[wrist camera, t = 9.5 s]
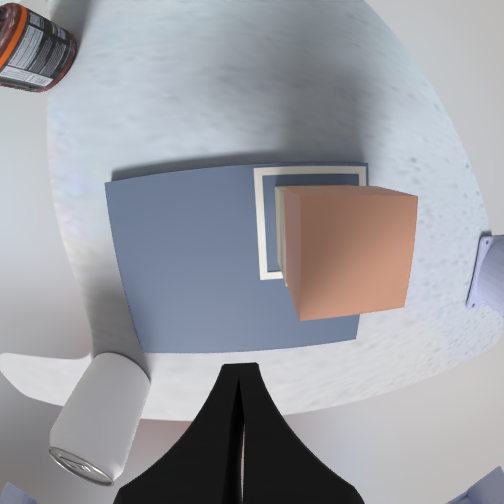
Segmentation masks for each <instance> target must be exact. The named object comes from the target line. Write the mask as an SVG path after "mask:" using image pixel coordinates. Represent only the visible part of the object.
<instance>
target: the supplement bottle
mask: <svg viewBox="0 0 504 504" xmlns="http://www.w3.org/2000/svg"><path fill="white" fill-rule="evenodd" d="M75 52H76V41H75V39H74V37H73V35H72V34H70V33H69V32H68V31H66V30H65V29H63V28H61V27H60V26H58V25H56V24H55V23H53V22H51V21H49V20H48V19H46V18H44V17H42V16H41V15H39V14H37V13H35V12H33V11H31V10H29V9H28V8H25V7H23V6H22V5H19V4H17V3H7V4H5V5H2V6H0V86H4V87H10V88H15V89H21V90H25V91H30V92H43V91H47V90H48V89H50V88H52V87H53V86H54V85H56V84H57V83H58V82H59V81H60V80H61V79H62V78H63V76H65V74H66V72H67V71H68V69H69V68H70V66H71V64H72V62H73V59H74V57H75Z"/></svg>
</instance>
